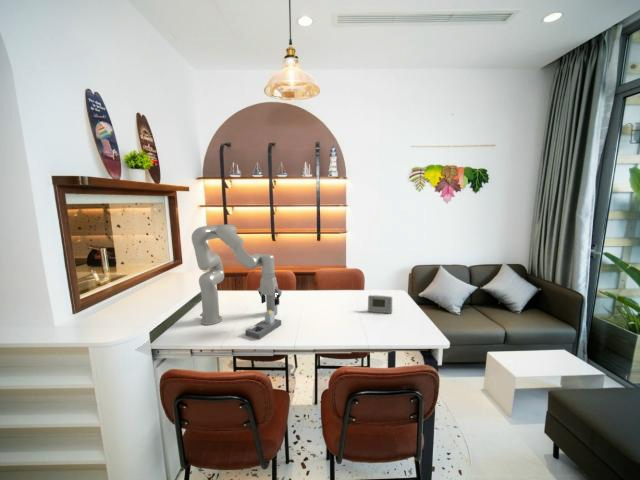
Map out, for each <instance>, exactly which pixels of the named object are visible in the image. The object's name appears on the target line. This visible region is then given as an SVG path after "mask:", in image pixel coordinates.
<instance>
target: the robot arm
mask: <svg viewBox="0 0 640 480" xmlns="http://www.w3.org/2000/svg"><path fill="white" fill-rule="evenodd" d="M214 239H219V240H220V241H222V243H223V244H225V245H226V246H227V247H228V248H229V249H231V250H232V252H233V255H234V257H235V259H236V260H237V261H238V262H239V264H241V265H242V266H243V267H244V268H245V269H247V270H254V269H256V268H258V267H261V273H260V275H261V277H260V284H259V287H258V288H257V292H258V294H259V295H260V296H259V297H261V298H260V300H261V304H264V303H266V295H268V296H274V297H275V299H274V302H275V306H276V305H277V306H279V305H280V302H279V301H280V297H281V296H282V293H283V291H282V290H281V289H280V288H279V287H278V286H279V285H278V286H277V284H278V282H277V277H276V271H275V269H276V268H275V266H276V265H275V256H274V255H273V254H271V253H270V254H269V253H268V254H264V253H263V254H262V253H254V254H250V253H248V252H247V251H246V250H245V248H244V247H243V246H244V239H243V238H242V237H241V236H239V235H238V230H237V227H236V226H235V225H233V224H230V223H229V224H213V225H212V224H211V225H205V226H199V227H197V228H196V229H195V230H193V232H192V234H191V243H192V245H193V250H194V255H195V258H196V264H197V267H198V269H199V270H201V271H206V272H204V273H202V274H201V275H200V276H199V278H198V285H199V287H200V288H199V289H200V295H201V296H200V297H201V307H202V308H201V309H202V312H201V314H199V316H200V317H201V319H200V324H201V325H205V326H210V325H216V324H218V323H220V322H222V320H223V317H222V316H221V315H220V307H219V306H220V305H219V293H218V289H217V287H216V286H217V285H218V284H220V283H222V282H223V281H224V279H225V271H224V265H223V261H222V259H221V256H220V255H219V254H218V253H217V252H211V249H210V246H209V243H208V242H207V241H209V240H214ZM275 277H276V278H275ZM278 304H279V305H278Z"/></svg>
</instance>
